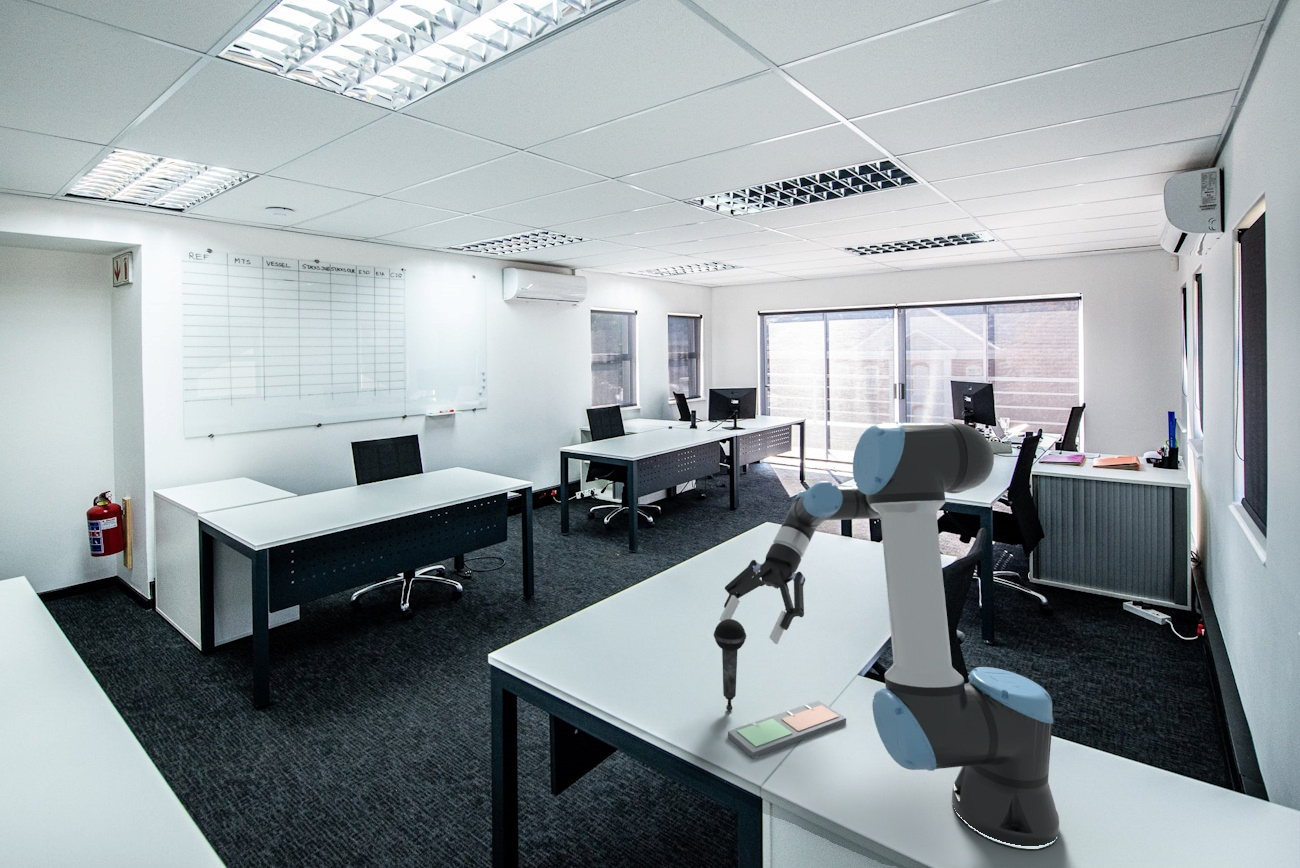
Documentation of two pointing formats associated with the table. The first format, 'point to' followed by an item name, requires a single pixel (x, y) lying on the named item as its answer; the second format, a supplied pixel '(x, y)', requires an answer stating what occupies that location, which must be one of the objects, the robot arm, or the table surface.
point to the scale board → (785, 728)
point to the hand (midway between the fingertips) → (747, 631)
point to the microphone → (729, 654)
